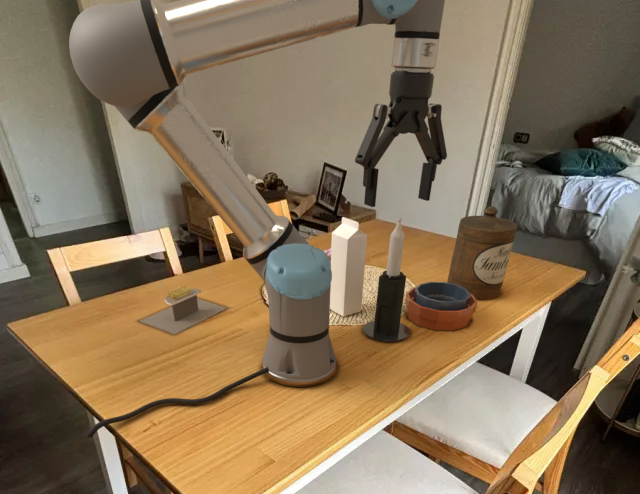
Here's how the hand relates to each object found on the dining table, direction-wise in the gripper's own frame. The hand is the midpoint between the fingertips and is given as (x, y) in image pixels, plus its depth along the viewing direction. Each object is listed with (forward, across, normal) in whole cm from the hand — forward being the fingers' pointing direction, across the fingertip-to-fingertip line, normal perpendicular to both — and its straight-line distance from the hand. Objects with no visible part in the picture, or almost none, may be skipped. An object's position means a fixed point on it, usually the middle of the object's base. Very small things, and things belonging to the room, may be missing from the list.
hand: (397, 202), depth 96 cm
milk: (+29, -1, +14) cm, 32 cm away
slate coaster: (+28, +1, -1) cm, 28 cm away
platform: (+29, -38, +30) cm, 57 cm away
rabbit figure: (+29, +18, +50) cm, 60 cm away
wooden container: (+28, +39, +10) cm, 49 cm away
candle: (+28, +1, -1) cm, 28 cm away
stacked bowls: (+28, +18, 0) cm, 34 cm away
